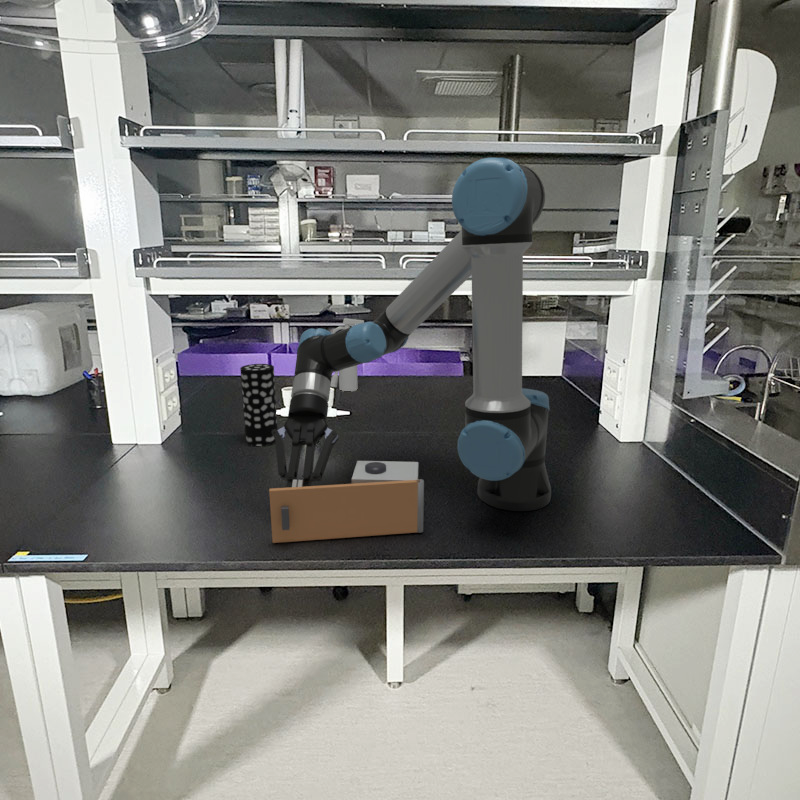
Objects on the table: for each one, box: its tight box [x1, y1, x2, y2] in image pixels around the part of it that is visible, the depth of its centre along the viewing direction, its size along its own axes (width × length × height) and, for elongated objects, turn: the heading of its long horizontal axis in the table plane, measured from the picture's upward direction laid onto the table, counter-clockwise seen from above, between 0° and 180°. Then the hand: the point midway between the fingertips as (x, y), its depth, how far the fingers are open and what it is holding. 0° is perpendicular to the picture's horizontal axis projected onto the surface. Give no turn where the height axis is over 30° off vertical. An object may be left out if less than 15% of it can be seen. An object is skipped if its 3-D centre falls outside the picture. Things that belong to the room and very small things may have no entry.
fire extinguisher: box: [330, 317, 365, 392], centre depth 203 cm, size 7×12×25 cm, turn 87°
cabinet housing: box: [351, 460, 419, 484], centre depth 112 cm, size 12×9×11 cm
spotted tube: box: [239, 363, 278, 447], centre depth 153 cm, size 8×8×20 cm
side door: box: [268, 478, 425, 544], centre depth 105 cm, size 27×2×10 cm, turn 99°
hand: (294, 516), depth 106 cm, fingers closed
